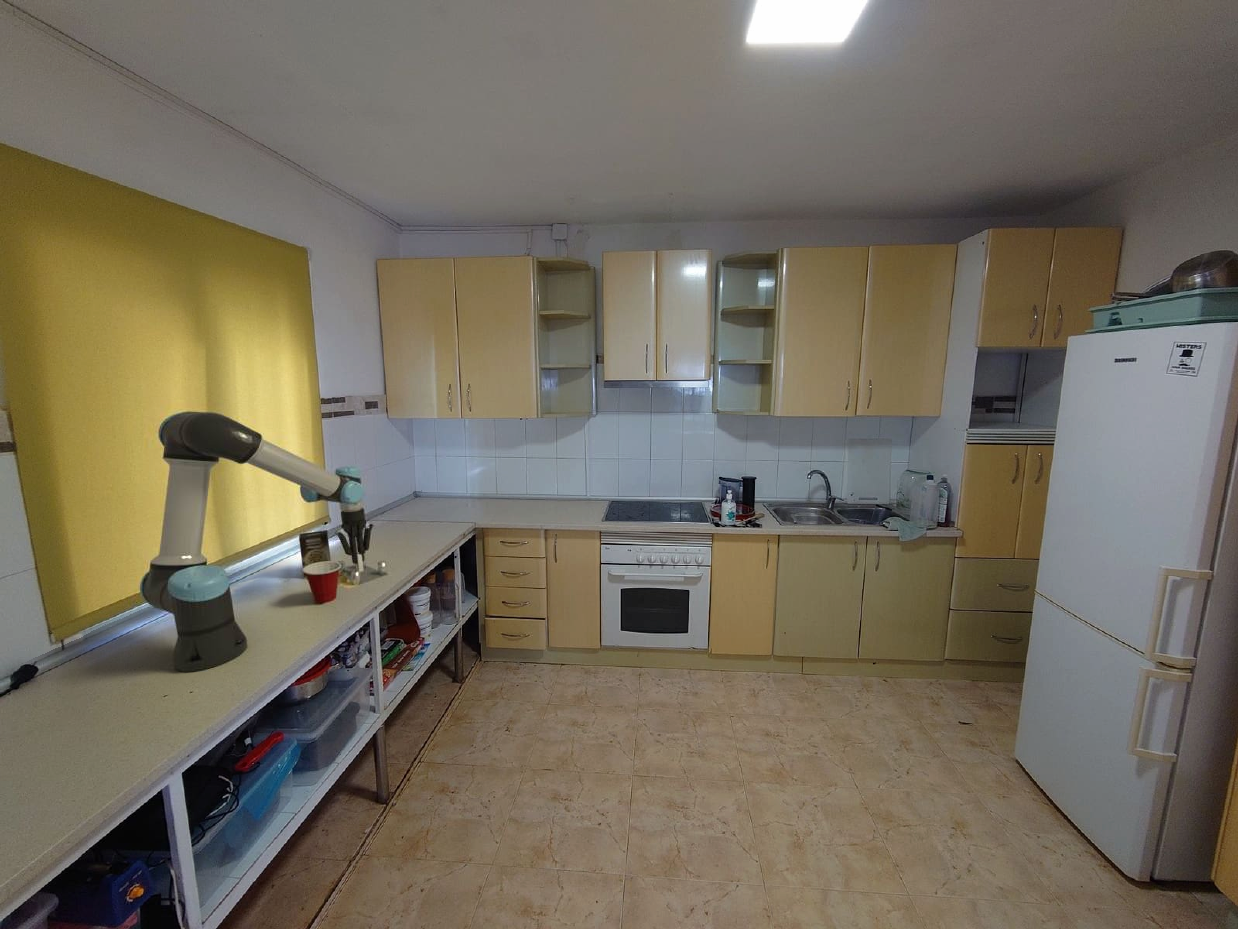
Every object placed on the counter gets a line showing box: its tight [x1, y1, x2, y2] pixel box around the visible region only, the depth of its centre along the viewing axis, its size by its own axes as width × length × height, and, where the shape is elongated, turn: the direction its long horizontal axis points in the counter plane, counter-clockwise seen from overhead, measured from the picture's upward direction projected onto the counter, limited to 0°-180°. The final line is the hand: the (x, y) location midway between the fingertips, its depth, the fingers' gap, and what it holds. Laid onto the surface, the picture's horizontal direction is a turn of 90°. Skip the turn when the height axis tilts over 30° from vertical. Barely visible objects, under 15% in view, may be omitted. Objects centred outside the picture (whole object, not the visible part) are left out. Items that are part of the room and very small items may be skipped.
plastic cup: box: [302, 560, 341, 605], centre depth 160 cm, size 11×11×12 cm
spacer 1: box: [337, 560, 346, 573], centre depth 182 cm, size 3×3×5 cm
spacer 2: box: [351, 570, 362, 586], centre depth 173 cm, size 3×3×5 cm
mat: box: [337, 565, 389, 590], centre depth 180 cm, size 15×17×1 cm
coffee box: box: [298, 529, 332, 580], centre depth 182 cm, size 9×6×16 cm
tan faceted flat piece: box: [338, 573, 348, 584], centre depth 175 cm, size 5×4×2 cm
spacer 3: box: [363, 554, 367, 569], centre depth 188 cm, size 3×3×5 cm
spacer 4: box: [377, 560, 388, 577], centre depth 181 cm, size 3×3×5 cm
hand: (359, 570), depth 181 cm, fingers closed
